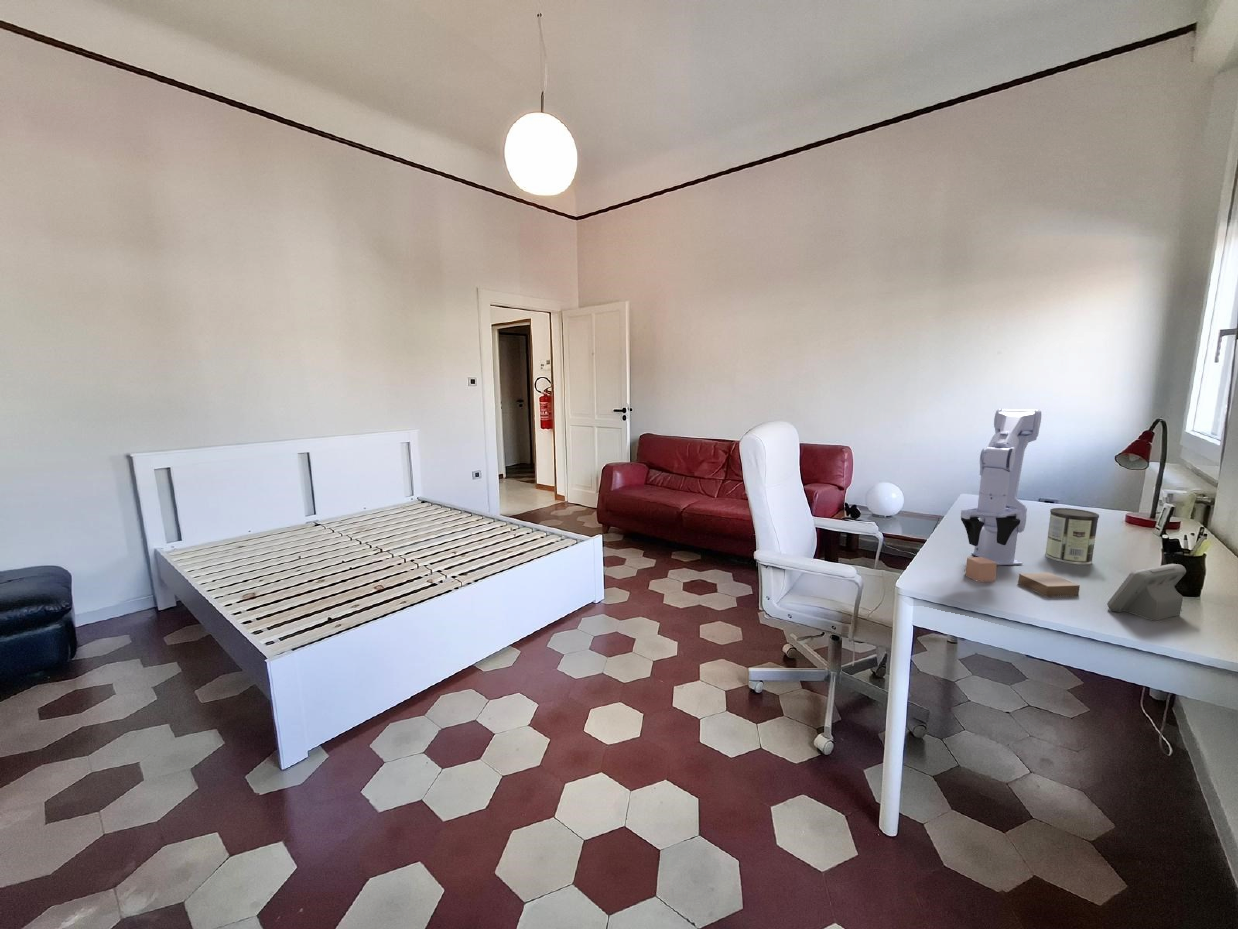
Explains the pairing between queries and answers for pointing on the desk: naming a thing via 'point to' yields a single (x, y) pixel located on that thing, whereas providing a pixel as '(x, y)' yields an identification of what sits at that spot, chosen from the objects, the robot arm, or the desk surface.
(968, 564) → the terracotta block
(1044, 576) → the walnut slab
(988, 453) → the robot arm
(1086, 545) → the coffee can
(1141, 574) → the digital clock
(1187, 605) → the desk surface
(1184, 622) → the desk surface
